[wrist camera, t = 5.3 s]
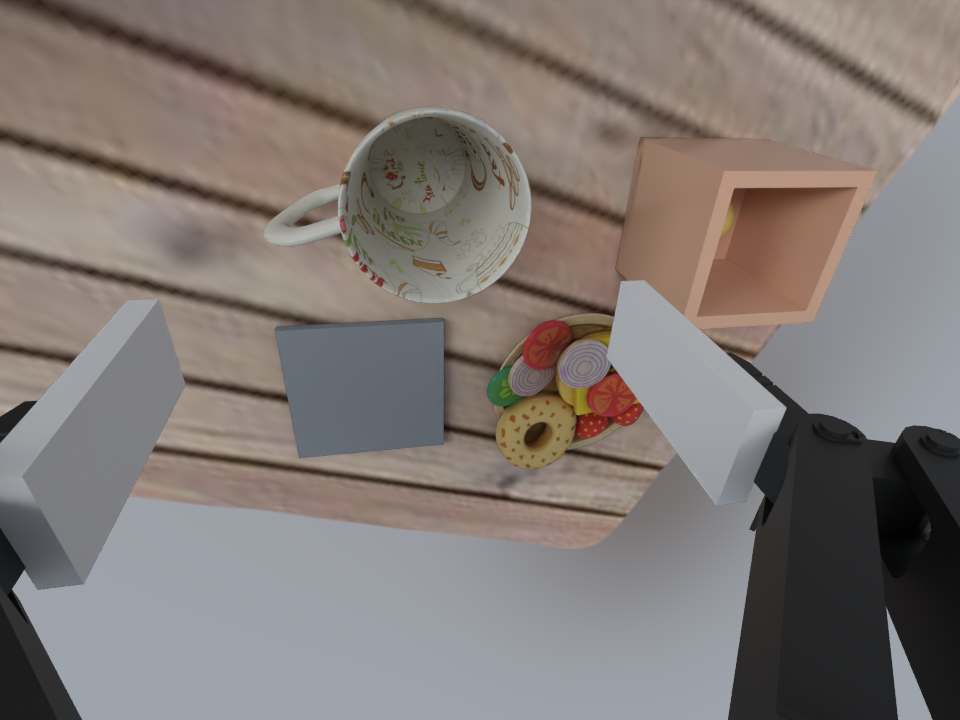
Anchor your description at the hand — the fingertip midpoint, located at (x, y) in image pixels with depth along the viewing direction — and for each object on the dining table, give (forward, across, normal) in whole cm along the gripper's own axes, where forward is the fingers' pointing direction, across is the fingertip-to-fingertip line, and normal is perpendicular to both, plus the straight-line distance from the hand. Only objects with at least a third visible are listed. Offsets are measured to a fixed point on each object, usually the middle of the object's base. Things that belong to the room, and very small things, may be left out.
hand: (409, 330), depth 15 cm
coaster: (+18, -2, -15) cm, 24 cm away
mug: (+19, 0, 0) cm, 19 cm away
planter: (+18, +20, -2) cm, 27 cm away
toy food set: (+19, +13, -15) cm, 28 cm away
